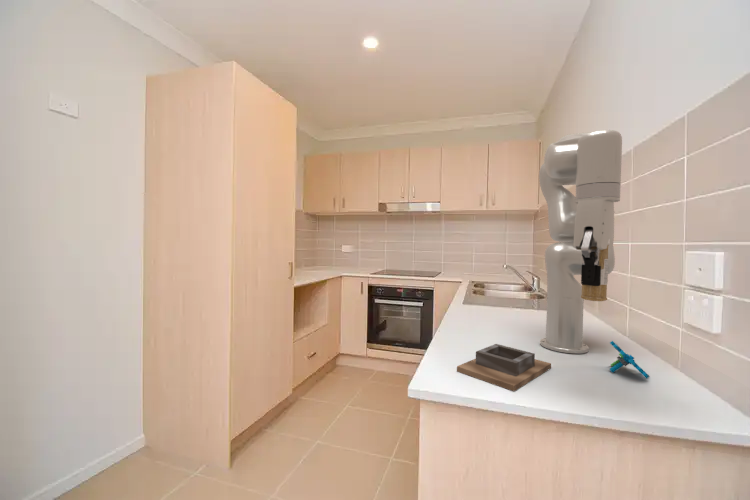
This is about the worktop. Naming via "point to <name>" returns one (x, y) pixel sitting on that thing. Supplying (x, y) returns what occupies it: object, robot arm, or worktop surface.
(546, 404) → the worktop surface
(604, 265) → the sprinkles bottle
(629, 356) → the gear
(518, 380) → the caddy
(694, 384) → the worktop surface
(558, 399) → the worktop surface
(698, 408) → the worktop surface
